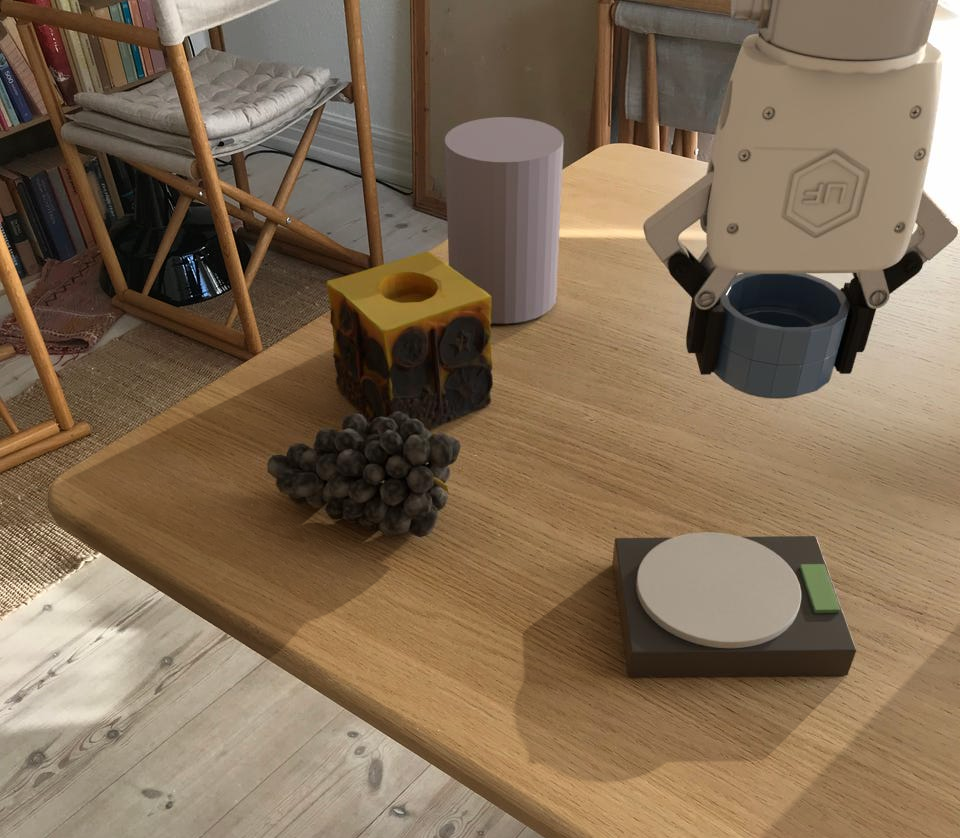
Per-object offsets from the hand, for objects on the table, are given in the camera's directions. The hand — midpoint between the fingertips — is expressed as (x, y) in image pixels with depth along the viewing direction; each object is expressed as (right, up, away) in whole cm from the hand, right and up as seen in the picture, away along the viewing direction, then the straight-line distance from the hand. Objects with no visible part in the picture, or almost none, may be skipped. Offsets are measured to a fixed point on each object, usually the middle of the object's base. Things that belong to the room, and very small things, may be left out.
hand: (770, 359), depth 60 cm
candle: (-22, +4, +29) cm, 37 cm away
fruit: (-25, -6, +19) cm, 32 cm away
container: (-15, +17, +41) cm, 47 cm away
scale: (0, -15, +10) cm, 18 cm away
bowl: (0, -1, +1) cm, 1 cm away
